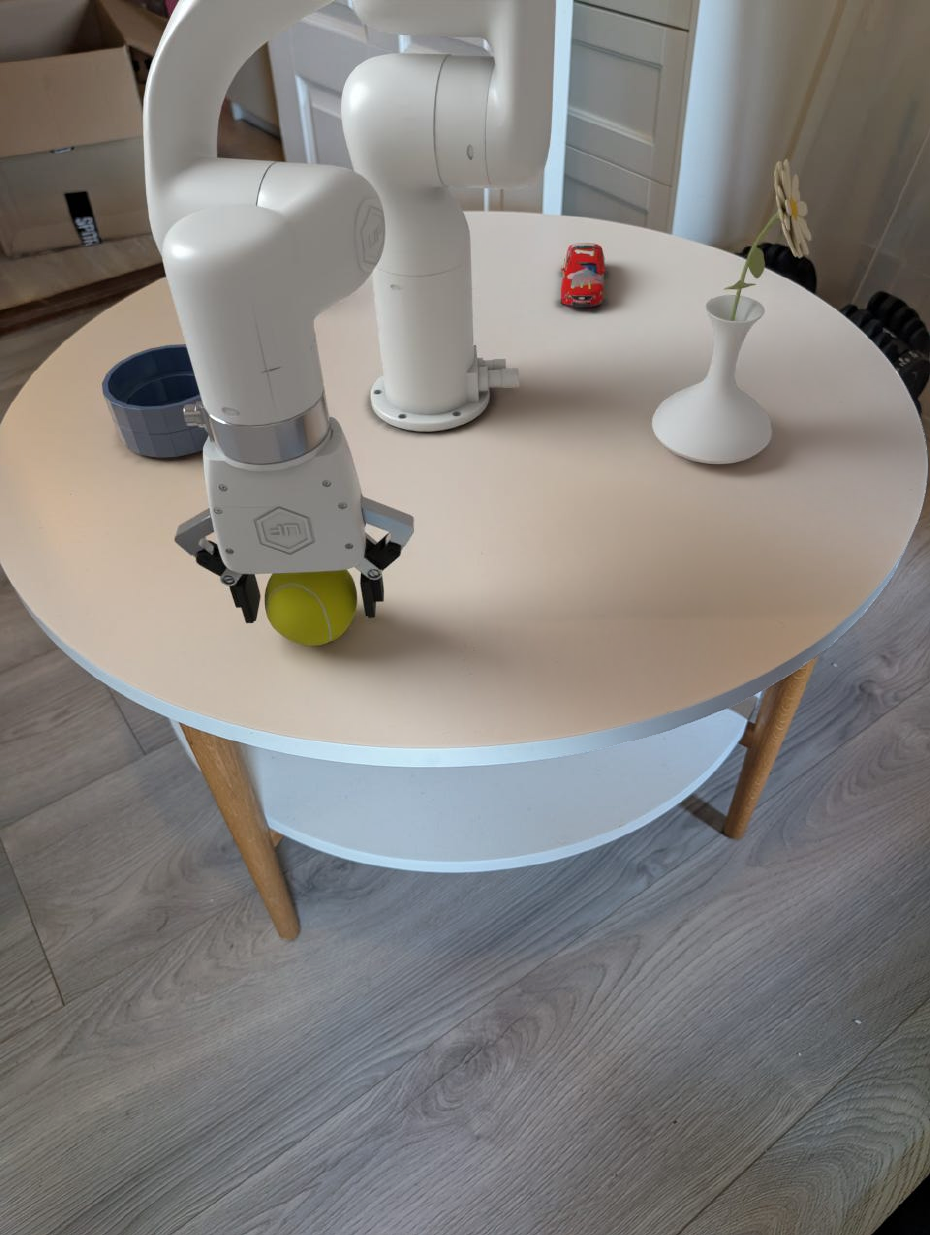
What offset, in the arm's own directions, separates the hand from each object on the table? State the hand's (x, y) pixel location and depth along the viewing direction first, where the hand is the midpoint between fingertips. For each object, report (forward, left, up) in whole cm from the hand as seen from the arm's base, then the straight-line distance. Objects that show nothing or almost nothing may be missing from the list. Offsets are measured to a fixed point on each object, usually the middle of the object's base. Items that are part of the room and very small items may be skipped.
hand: (312, 607), depth 68 cm
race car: (-28, -57, -3) cm, 64 cm away
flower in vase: (-37, -24, -3) cm, 44 cm away
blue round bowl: (+17, -30, -3) cm, 35 cm away
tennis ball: (0, 0, -3) cm, 3 cm away
